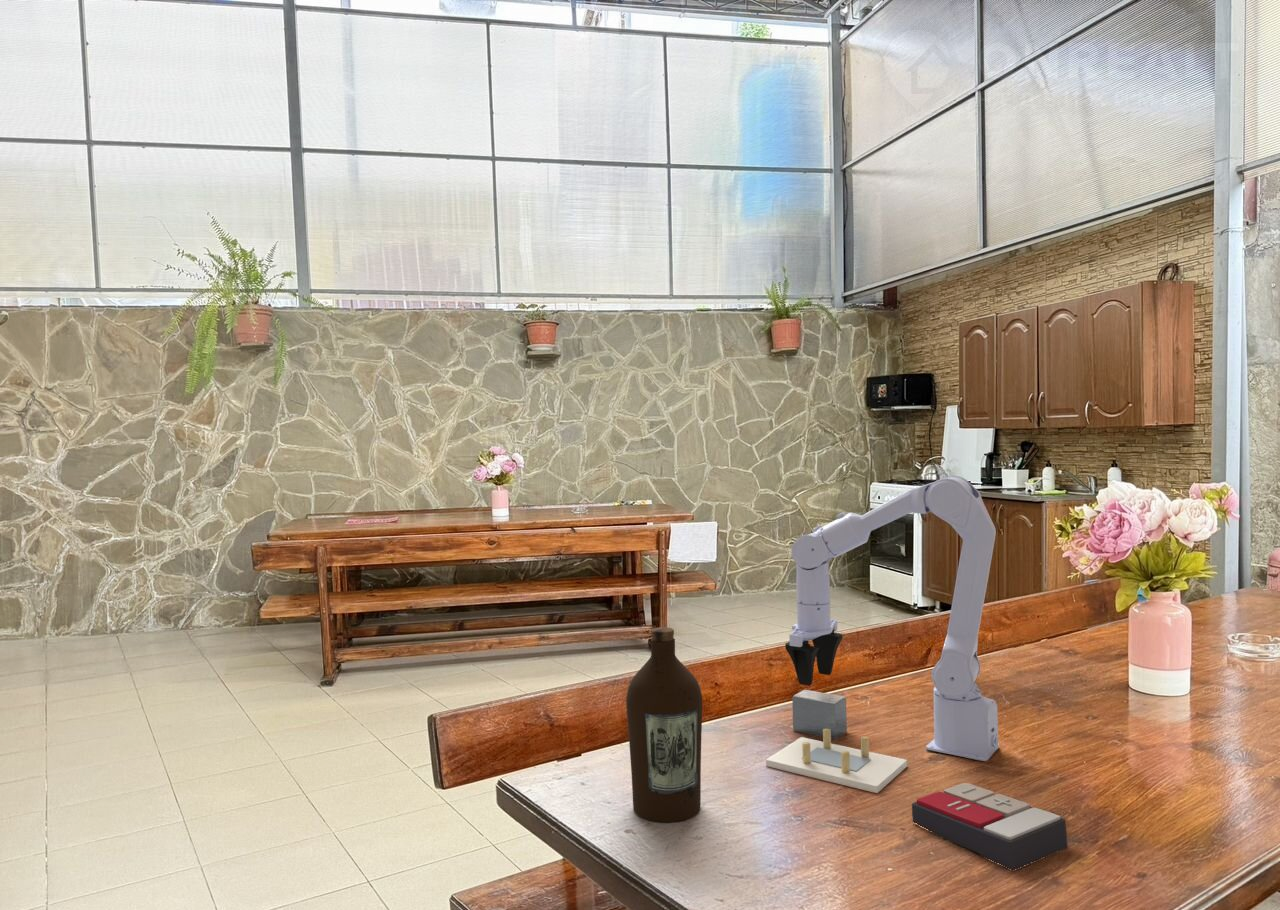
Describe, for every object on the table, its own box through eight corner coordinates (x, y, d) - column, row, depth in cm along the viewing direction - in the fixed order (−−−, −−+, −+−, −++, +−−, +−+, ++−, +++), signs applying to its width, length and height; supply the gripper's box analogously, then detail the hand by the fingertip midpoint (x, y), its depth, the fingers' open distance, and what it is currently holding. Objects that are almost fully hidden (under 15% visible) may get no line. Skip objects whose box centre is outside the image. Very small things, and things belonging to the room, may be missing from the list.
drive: (846, 732, 145) (846, 696, 145) (835, 740, 142) (835, 703, 142) (804, 723, 150) (804, 689, 150) (793, 730, 147) (792, 695, 147)
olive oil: (621, 797, 121) (617, 624, 121) (692, 788, 123) (688, 619, 123) (638, 829, 111) (633, 641, 110) (715, 819, 113) (710, 635, 113)
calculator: (964, 778, 116) (1067, 812, 103) (966, 809, 116) (1069, 848, 103) (909, 797, 111) (1010, 836, 98) (911, 830, 111) (1012, 873, 98)
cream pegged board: (907, 766, 130) (906, 740, 129) (877, 793, 120) (876, 765, 120) (801, 742, 141) (800, 719, 140) (766, 765, 131) (765, 740, 131)
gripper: (811, 593, 156) (813, 666, 156) (772, 606, 144) (774, 685, 144) (847, 597, 151) (849, 672, 151) (810, 611, 140) (812, 692, 140)
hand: (815, 679), depth 148 cm, fingers open, 7 cm apart
